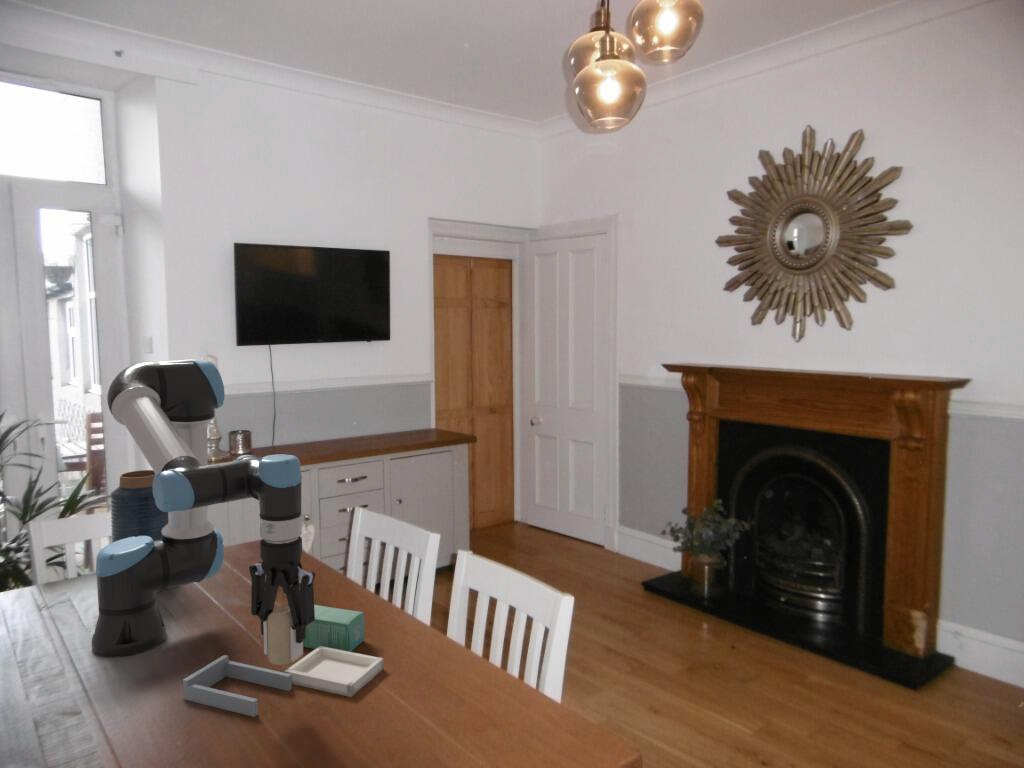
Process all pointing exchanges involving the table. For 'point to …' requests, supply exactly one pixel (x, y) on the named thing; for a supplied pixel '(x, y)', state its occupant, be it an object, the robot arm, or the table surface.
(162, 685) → the table surface
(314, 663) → the tray
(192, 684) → the bracket
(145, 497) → the vase
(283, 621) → the candle
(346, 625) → the box
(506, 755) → the table surface
